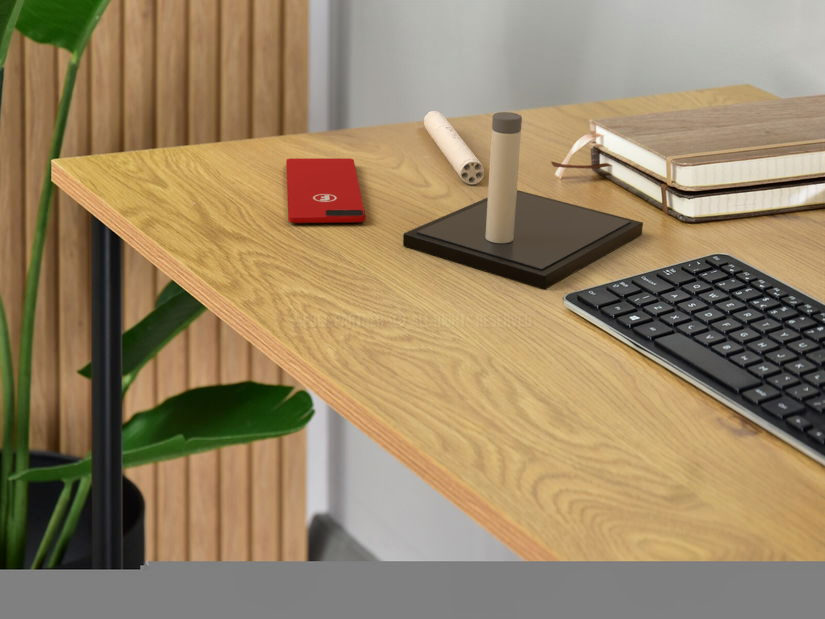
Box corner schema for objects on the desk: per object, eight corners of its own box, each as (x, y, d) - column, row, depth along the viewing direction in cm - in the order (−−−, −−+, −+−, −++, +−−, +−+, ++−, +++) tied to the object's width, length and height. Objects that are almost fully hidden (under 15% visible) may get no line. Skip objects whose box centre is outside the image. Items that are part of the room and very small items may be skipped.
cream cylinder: (419, 126, 116) (419, 102, 115) (440, 126, 117) (441, 102, 116) (459, 185, 100) (461, 158, 99) (484, 184, 100) (485, 157, 100)
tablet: (508, 199, 97) (509, 186, 97) (642, 234, 91) (643, 221, 90) (402, 246, 87) (403, 231, 87) (544, 289, 80) (545, 274, 80)
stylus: (495, 231, 87) (503, 110, 83) (518, 238, 86) (527, 115, 82) (479, 239, 86) (487, 115, 82) (503, 246, 85) (511, 121, 81)
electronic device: (286, 163, 104) (288, 223, 90) (286, 157, 103) (288, 216, 90) (353, 163, 104) (365, 223, 91) (353, 157, 104) (365, 216, 90)
